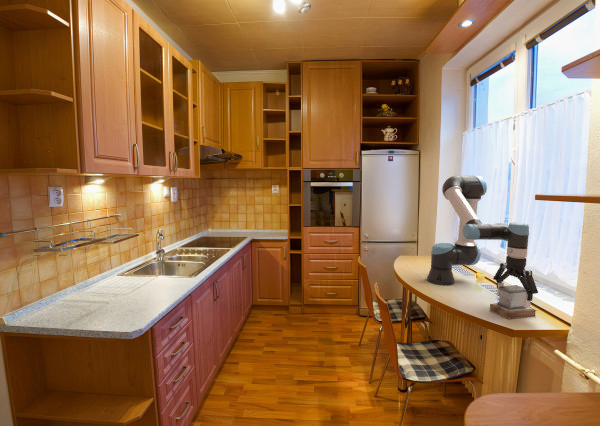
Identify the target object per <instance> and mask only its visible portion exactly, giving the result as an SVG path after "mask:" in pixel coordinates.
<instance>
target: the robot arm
mask: <svg viewBox="0 0 600 426" xmlns="http://www.w3.org/2000/svg"><path fill="white" fill-rule="evenodd" d="M441 190H442V195H443V197H444V199H446V200H447V201H449V203H450V205H451V206H452V208H453V210H454V211H455V213H456V215H457V216H458V218H459V224H458V235H457V240H455V242H454V244H453V243H450V242H449V243H448V242H440V243H435V244H433V245H432V247H431V257H430V258H431V259H430V269H429V272H428V274H427V276H426V277H427V278H426V281H428V282H429V283H432V284H433V285H437V286H438V285H439V286H453V285H454V284H455V277H454V273H453V266H474V265H477V264H478V263H479V261H480V259H481V249H480V248H479V247H478V244H477V243H476V242H475V241H477V240H478V241H479V240H480V241H481V240H486V241H487V240H489V241H490V240H493V241H494V240H495V241H500V240H501V241H506V243H507V245H506V246H507V248H506V259H505V262H500V264H499V268H498V269H497V271H496V272H495V275H493V278H492V280H494V281H495V282H496V289H497V290H496V291H497V292H496V296H497V297H500V290H499V289H498V288H499V287H500V286H505V283H504V281H505V280H506V279H508V277H509V276H511V277H514V278H517V279H518V280H519V281H520V283H521V284H522V287H523V288H525V290H526V292H527V293H525V298H524V307H525V308H527V307H530V308H531V302H532V301H533V296H534V294H535V295H536V294H539V291H538V288H537V284H536V282H535V280H534V277H533V271H532V270H530V269H529V270H526V266H527V257H528V245H529V237H530V236H529V235H530V226H529V224H527V223H524V222H510V223H509V224H505V223H498V222H497V223H494V224H489V223H487V224H485V223H484V224H483V223H482V222H481V220H480V219H479V217H478V215H477V213H478V204H479V201H481V200H482V196H485V195H486V193H487V190H488V187H487V182H486V180H485V177H482V176H480V175H453V176H450V177H448V178H446V180H445V181H444V183H443V184H442V189H441Z"/></svg>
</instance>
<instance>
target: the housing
mask: <svg viewBox="0 0 600 426" xmlns="http://www.w3.org/2000/svg"><path fill="white" fill-rule="evenodd" d="M497 289H499V290H500V296H499V301H497V302H496V303H497V305H499V306H501V307H503V308H506V309H508V310H513V309H521V308H525V307H524V298H525V293H527V292H526V290H525V288H524V287H523V286H520V285H517V284H515V285H514V284H512V285H504V286H500V287H499V288H497Z"/></svg>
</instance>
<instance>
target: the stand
mask: <svg viewBox="0 0 600 426" xmlns="http://www.w3.org/2000/svg"><path fill="white" fill-rule="evenodd" d="M489 310H490V312H493V313H495V314H496V315H499V316H501V317H503V318H505V319H508V320H513V319H521V318H530V317H536V311H537V310H536V309H535V308H532V307H531V306H530V307H527V308H521V309H513V310H508V309H506V308H503V307H501V306H499V305H497V302H496V303H489Z"/></svg>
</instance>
